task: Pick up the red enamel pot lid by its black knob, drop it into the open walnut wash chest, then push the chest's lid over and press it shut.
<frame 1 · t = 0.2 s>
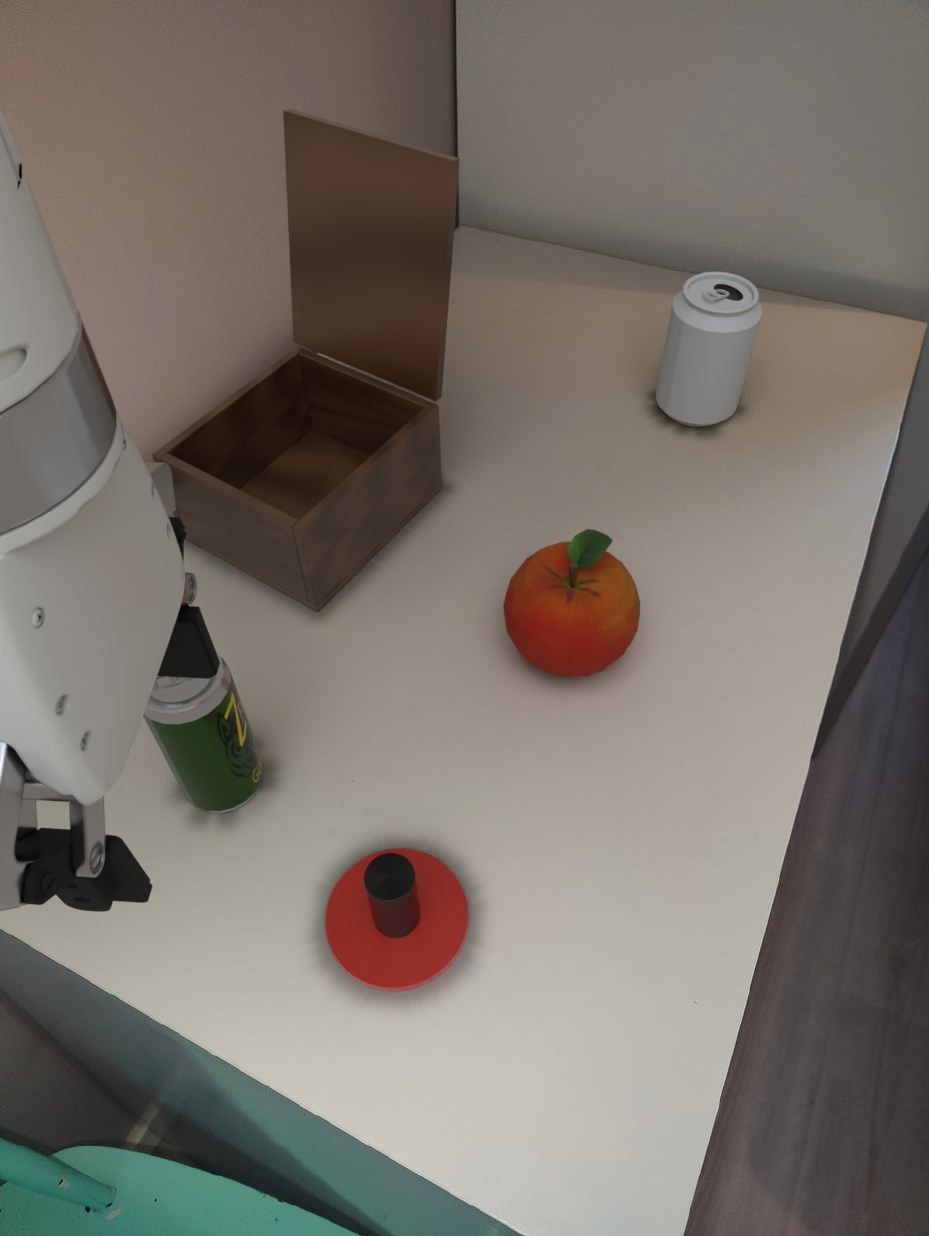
hand: (149, 772, 35), 22 cm above the table, tool pointing down, fingers open, 9 cm apart
chest: (314, 512, 76), on the table
chest lid: (366, 261, 67), point 18 cm above the table, hinge at 100.0°
fruit: (565, 648, 67), on the table
can: (694, 408, 84), on the table
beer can: (225, 781, 60), on the table
pot lid: (397, 918, 54), on the table
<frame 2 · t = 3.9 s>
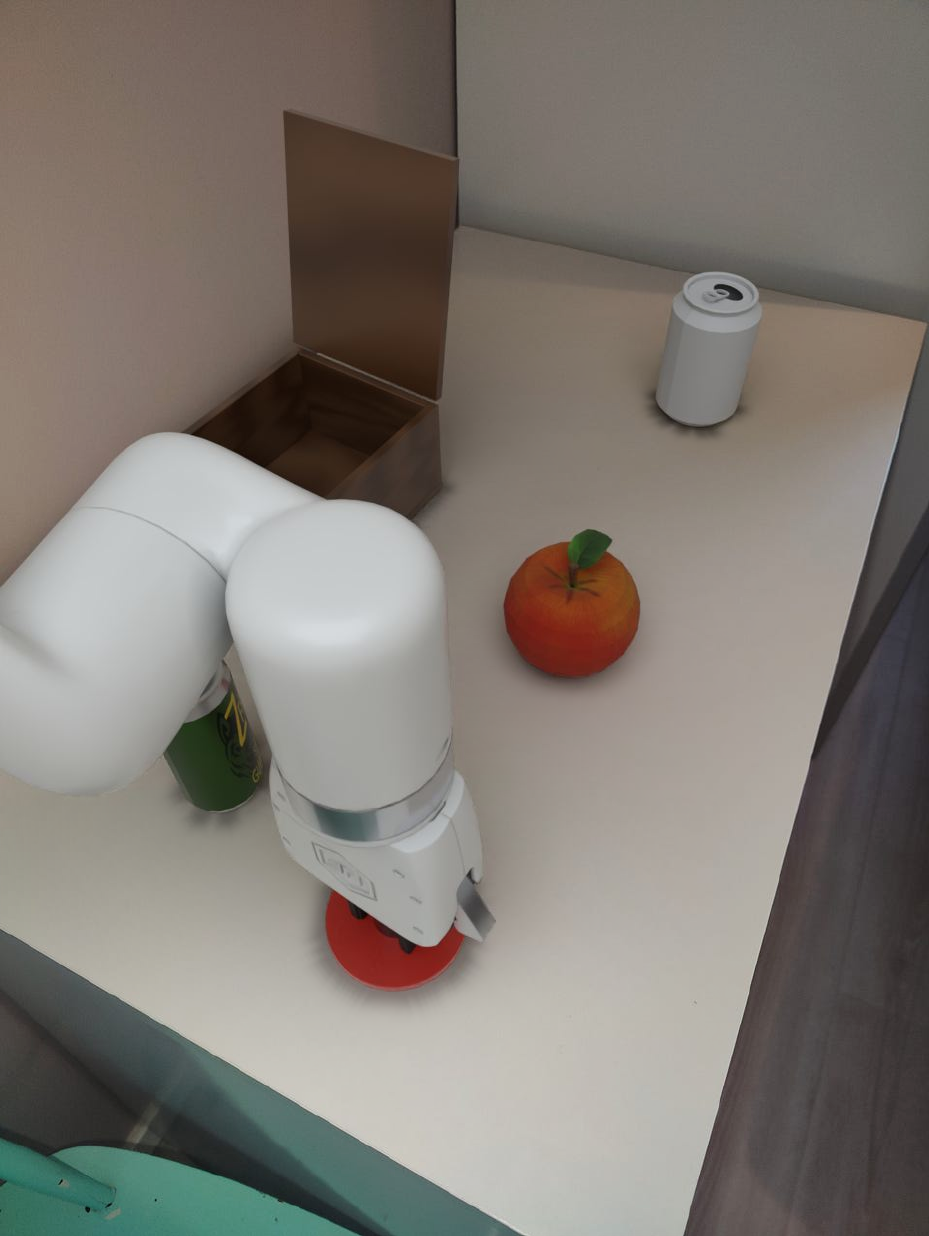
hand: (396, 912, 53), 1 cm above the table, tool pointing down, fingers closed on pot lid, 2 cm apart
pot lid: (397, 918, 54), on the table, touching gripper
everything else where it was.
when the fingers open (7 cm above the table, at t = 11.0 s): pot lid drops 5 cm, resting on chest.
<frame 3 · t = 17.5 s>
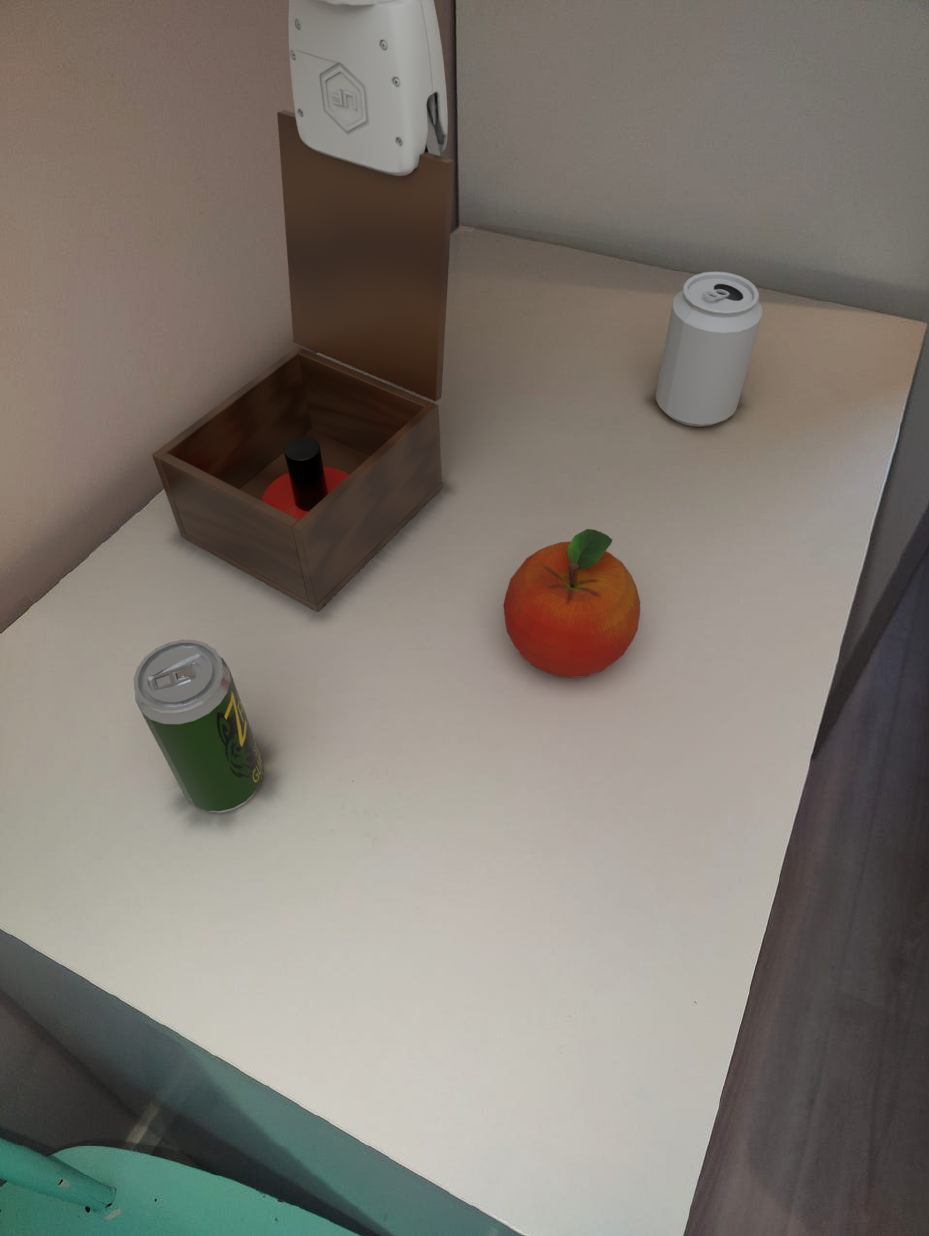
hand: (384, 247, 68), 18 cm above the table, tool pointing down, fingers closed
chest lid: (363, 262, 67), point 18 cm above the table, hinge at 97.9°, touching gripper
pot lid: (312, 505, 75), point 1 cm above the table, touching chest
everything else where it was.
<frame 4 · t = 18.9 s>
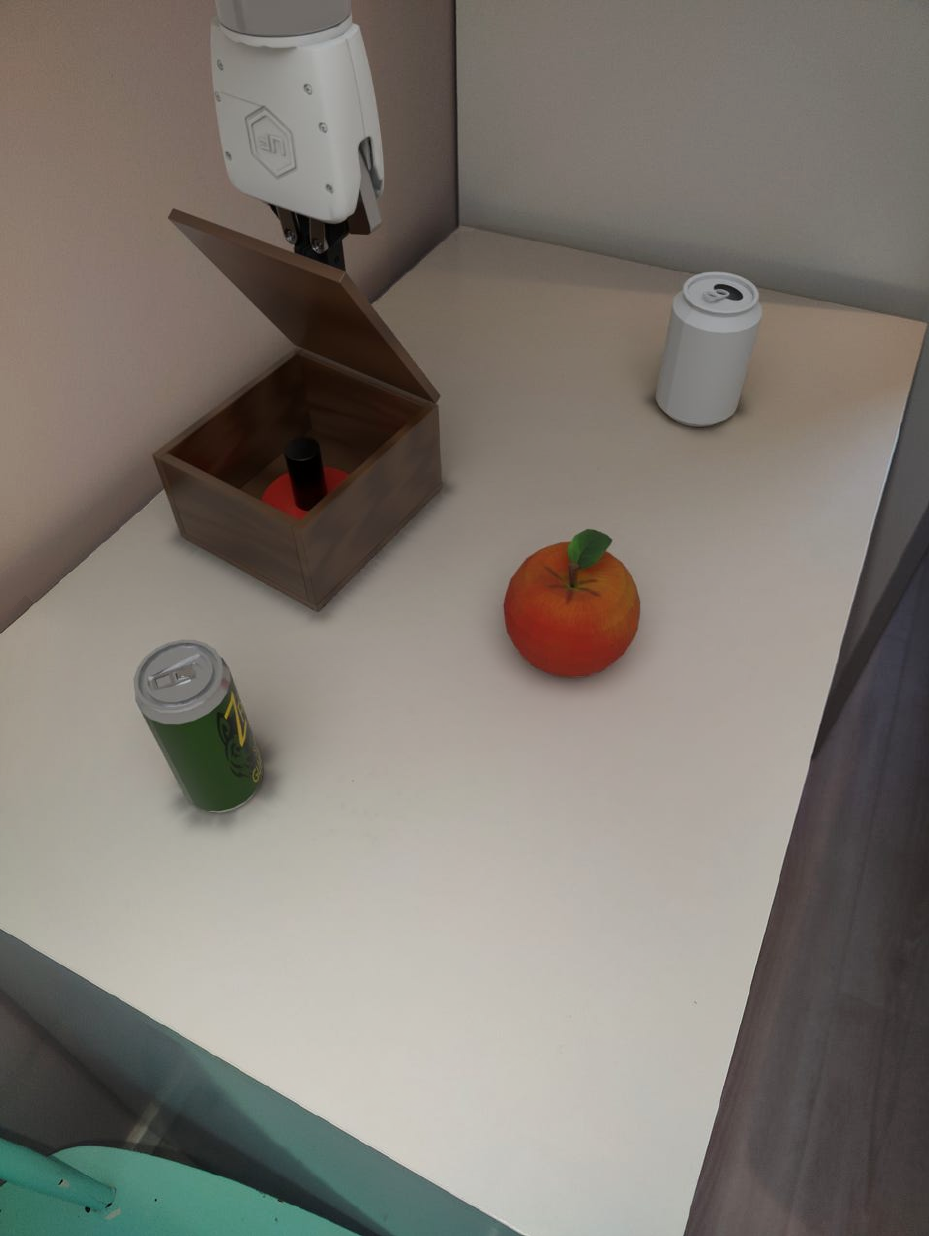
hand: (325, 293, 65), 18 cm above the table, tool pointing down, fingers closed
chest lid: (315, 314, 65), point 17 cm above the table, hinge at 58.2°, touching gripper
everything else where it was.
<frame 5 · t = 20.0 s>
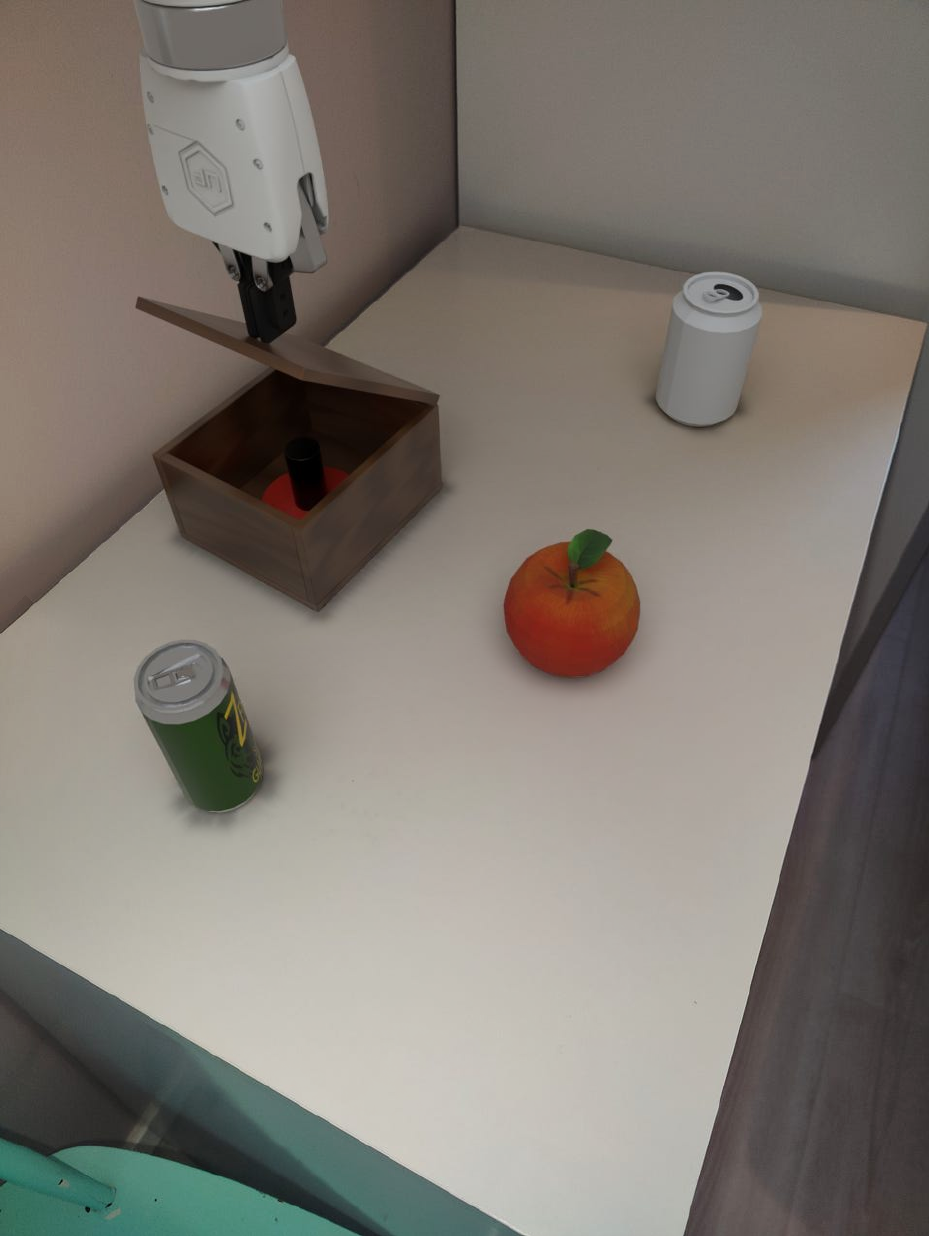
hand: (273, 330, 62), 18 cm above the table, tool pointing down, fingers closed
chest lid: (299, 354, 65), point 15 cm above the table, hinge at 37.7°, touching gripper
everything else where it was.
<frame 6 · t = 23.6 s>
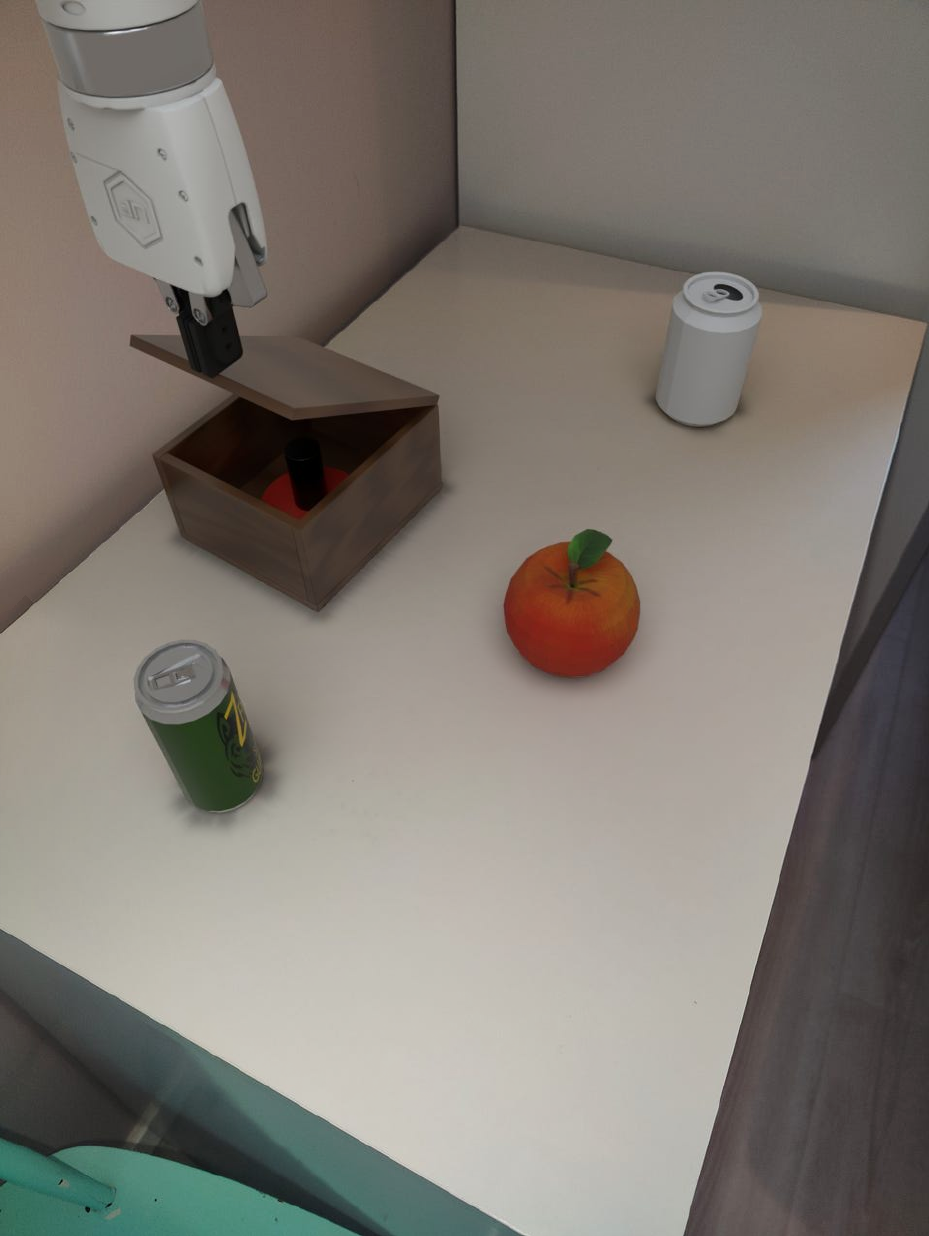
hand: (218, 363, 59), 18 cm above the table, tool pointing down, fingers closed
chest lid: (295, 372, 66), point 14 cm above the table, hinge at 29.3°, touching gripper
everything else where it was.
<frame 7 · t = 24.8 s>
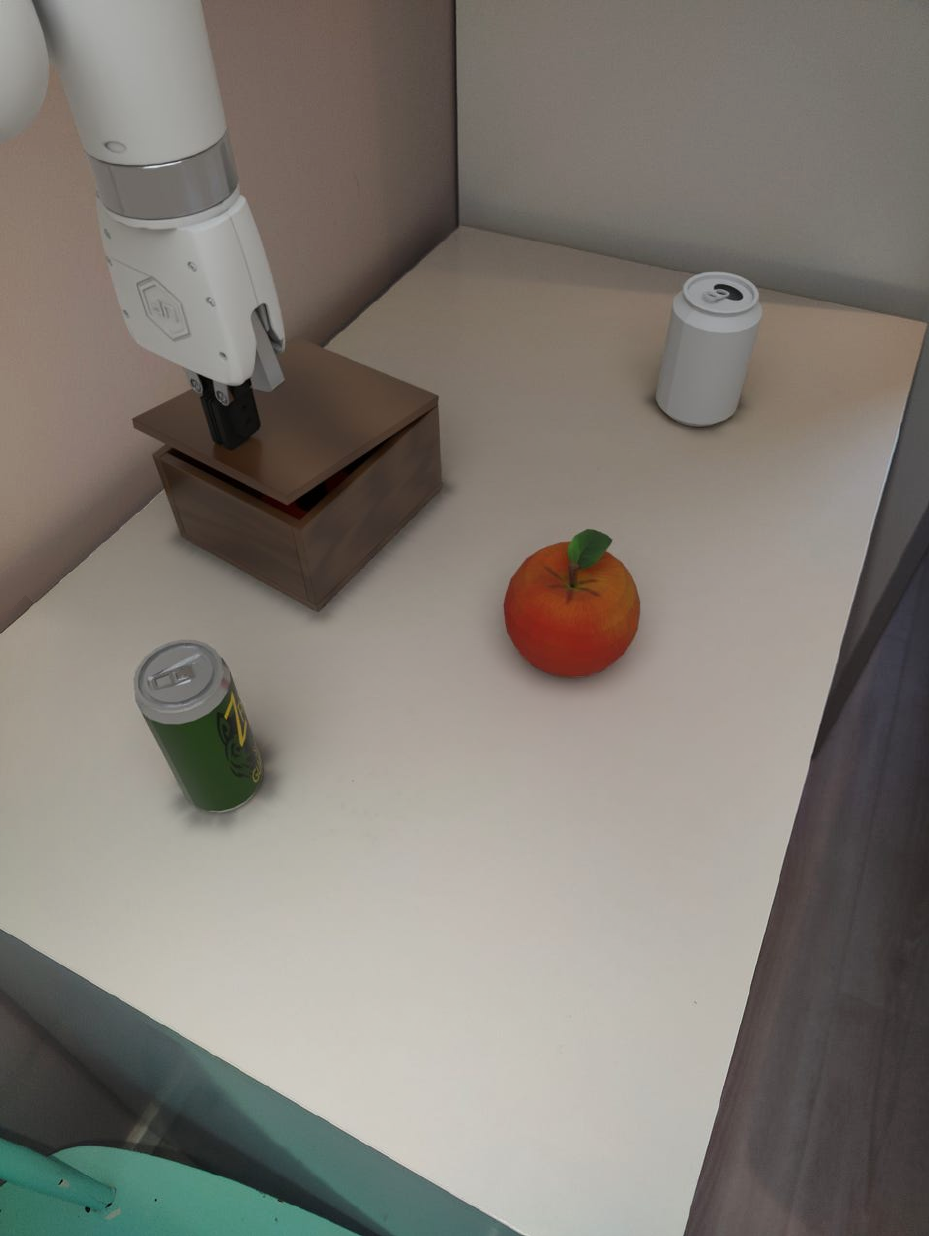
hand: (237, 435, 63), 12 cm above the table, tool pointing down, fingers closed
chest lid: (292, 411, 67), point 11 cm above the table, hinge at 9.3°, touching gripper
everything else where it was.
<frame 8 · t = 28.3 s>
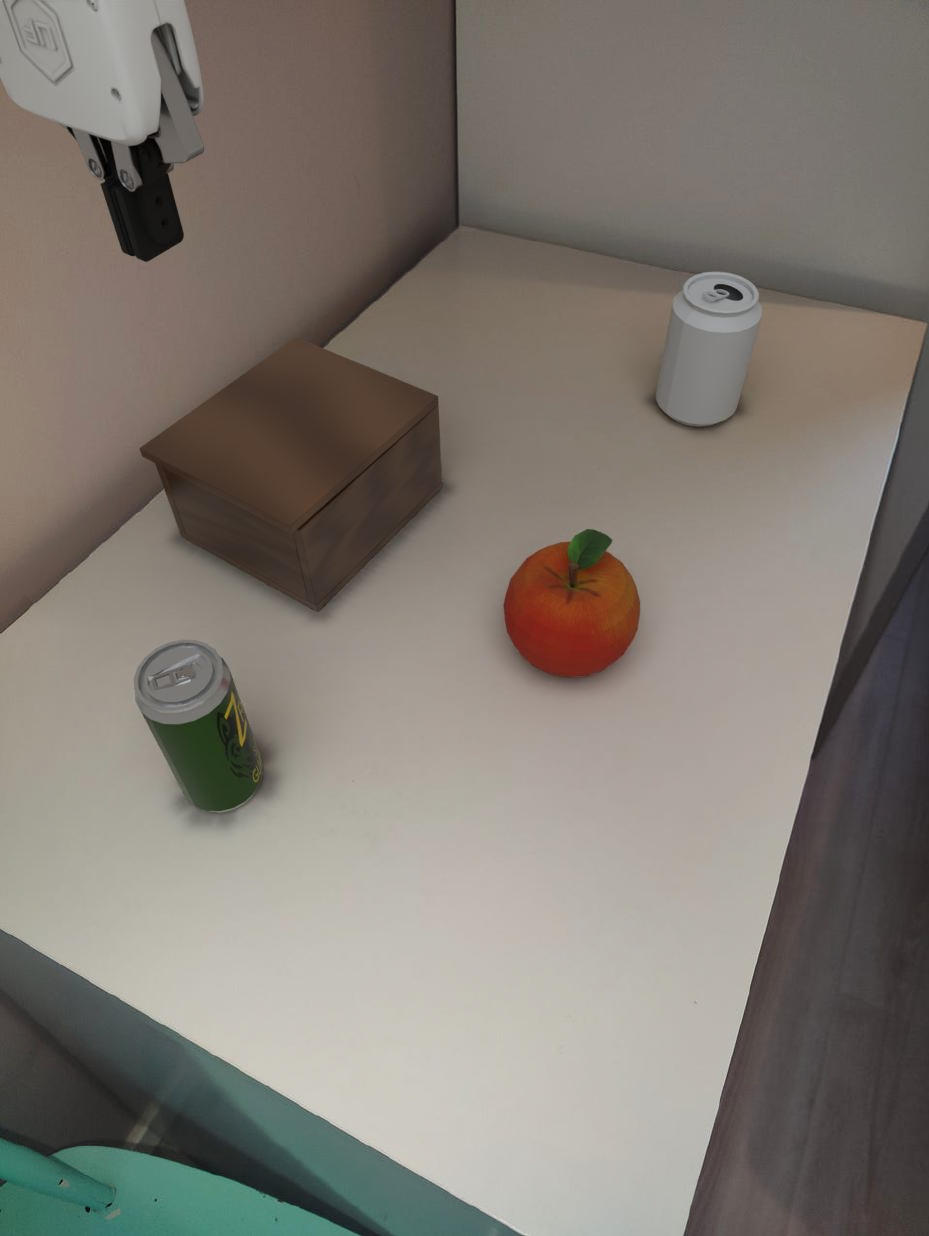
hand: (154, 246, 51), 27 cm above the table, tool pointing down, fingers closed
chest lid: (293, 425, 68), point 9 cm above the table, hinge at 1.0°
everything else where it was.
at the end: pot lid inside the target area in the chest (0.0 cm from its centre), point 0.8 cm above the chest's base; chest lid at +1° (first picture: +100°) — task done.
